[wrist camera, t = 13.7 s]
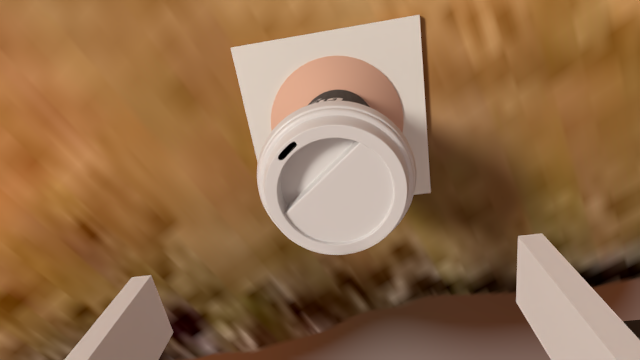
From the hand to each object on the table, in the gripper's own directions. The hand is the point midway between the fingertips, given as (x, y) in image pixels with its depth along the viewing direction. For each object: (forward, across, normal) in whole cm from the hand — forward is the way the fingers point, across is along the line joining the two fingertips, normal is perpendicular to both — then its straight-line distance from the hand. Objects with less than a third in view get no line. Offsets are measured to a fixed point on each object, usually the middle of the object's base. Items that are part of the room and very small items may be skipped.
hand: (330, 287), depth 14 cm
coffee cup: (+23, 0, 0) cm, 23 cm away
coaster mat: (+24, 0, 0) cm, 24 cm away
